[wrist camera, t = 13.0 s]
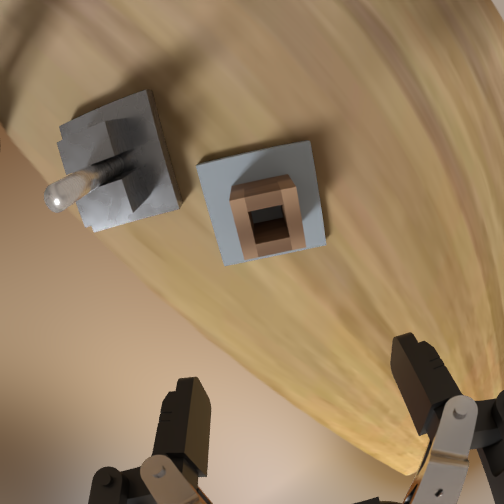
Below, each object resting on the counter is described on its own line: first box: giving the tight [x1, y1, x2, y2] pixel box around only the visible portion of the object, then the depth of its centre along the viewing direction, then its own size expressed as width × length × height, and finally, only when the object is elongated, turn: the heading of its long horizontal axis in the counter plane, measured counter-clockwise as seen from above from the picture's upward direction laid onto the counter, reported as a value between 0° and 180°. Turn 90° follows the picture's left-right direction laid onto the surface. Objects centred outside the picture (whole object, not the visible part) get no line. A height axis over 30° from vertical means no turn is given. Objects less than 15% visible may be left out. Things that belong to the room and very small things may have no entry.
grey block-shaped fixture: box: [44, 90, 183, 232], centre depth 23 cm, size 12×10×13 cm
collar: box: [229, 174, 306, 260], centre depth 28 cm, size 6×6×5 cm
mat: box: [196, 140, 326, 266], centre depth 31 cm, size 11×11×1 cm
